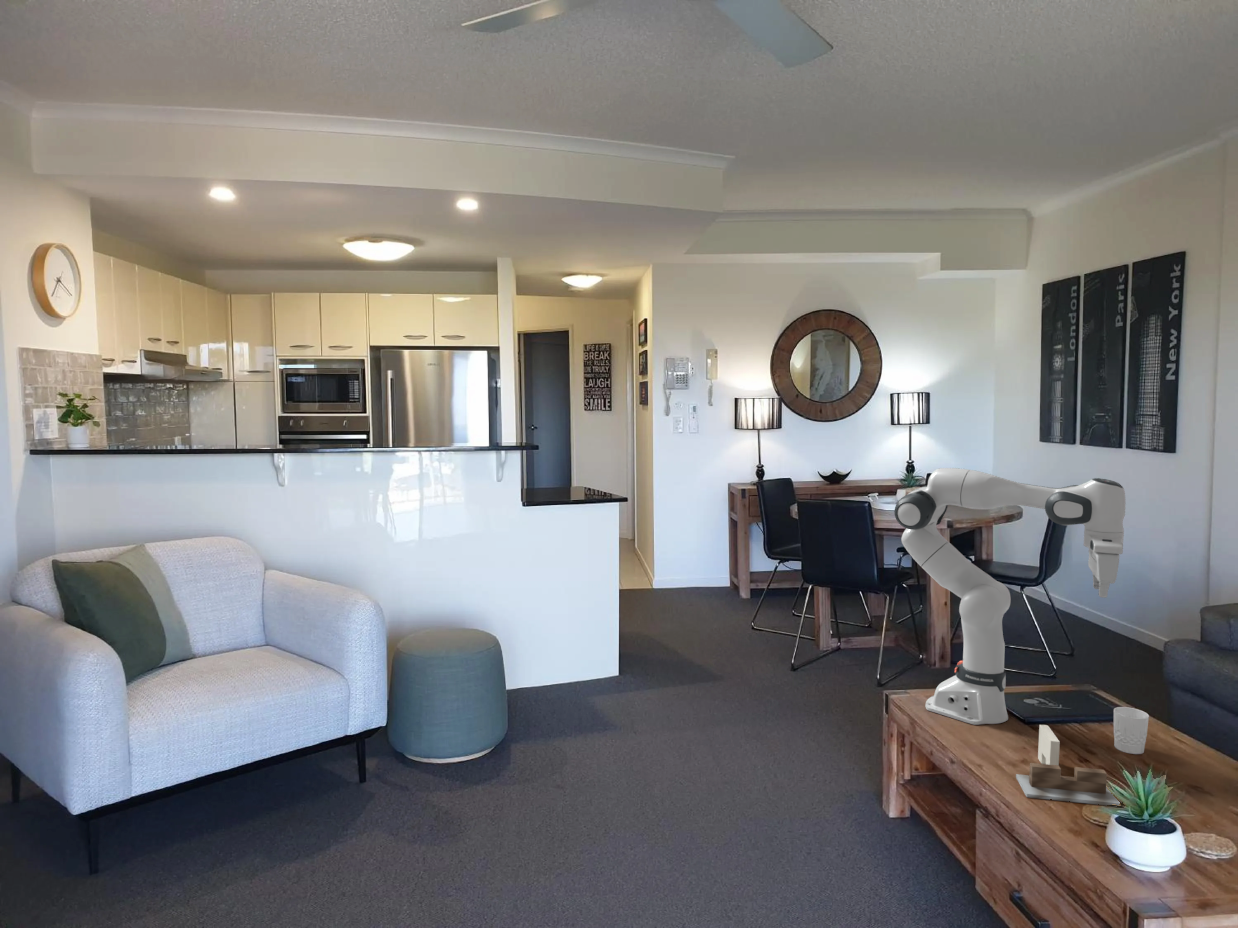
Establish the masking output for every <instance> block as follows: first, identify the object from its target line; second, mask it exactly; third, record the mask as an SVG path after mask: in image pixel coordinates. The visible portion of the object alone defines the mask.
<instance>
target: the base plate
mask: <svg viewBox="0 0 1238 928" xmlns="http://www.w3.org/2000/svg"><path fill="white" fill-rule="evenodd" d="M1073 775H1074V776H1068V775H1062V768H1061V767H1060V765H1048V764H1041V763H1036V762H1030V763H1029V774H1018V773H1016V774H1015V778H1016V781H1017V782H1018V784H1019V785H1020V788H1021V790H1022V791H1023V794H1024V795H1025V797H1026V798H1030V799H1031V798H1032V799H1040V800H1041V799H1042V800H1050V799H1052V801H1061V802H1069V801H1070V803H1080V804H1089V805H1090V804H1091V805H1098V804H1099V806H1100V805H1101V806H1107V805H1112V804H1116V805H1119V804H1120V802H1121V801H1120V800H1119V801H1120V802H1119V801H1118V800H1117V799H1116V798H1115V797H1114V796H1113V794H1111V792H1110V791H1109V790H1108V789H1107V787H1106V784H1107V777H1108V773H1107V772H1106V771H1105V770H1104V769H1099V768H1090V767H1089V768H1088V767H1079V766H1074V774H1073Z"/></svg>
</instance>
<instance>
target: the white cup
mask: <svg viewBox="0 0 1238 928" xmlns="http://www.w3.org/2000/svg"><path fill="white" fill-rule="evenodd" d="M1149 718H1150V715H1149V714H1148V713H1147V712H1145V711H1143V710H1141V709H1138V708H1133V707H1128V706H1127V707H1126V706H1117V707H1114V708H1113V736H1114V738H1113V739H1114V740H1113V741H1114V742H1113V744H1114V745H1113V746H1114V748H1115V749H1116V750H1118V751H1119V752H1122V753H1127V754H1133V755H1142V754H1144V753H1145V746H1146V742H1147V736H1148V727H1149V726H1148V725H1149Z"/></svg>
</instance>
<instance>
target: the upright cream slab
mask: <svg viewBox="0 0 1238 928" xmlns="http://www.w3.org/2000/svg"><path fill="white" fill-rule="evenodd" d="M1038 728H1039V729H1038V744H1037V745H1038V748H1037V751H1038V752H1037V759H1038V760H1039V762H1040V764H1048V765H1059V763H1060V746H1061V745H1060V744H1061V743H1060V742H1061V741H1060V740H1059V739H1058V737H1057V736H1056V734H1055V733H1054V732H1053V730H1052V729H1051V728H1050V726H1049V725H1047V724H1039V727H1038ZM1059 766H1060V765H1059Z"/></svg>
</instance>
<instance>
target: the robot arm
mask: <svg viewBox="0 0 1238 928" xmlns="http://www.w3.org/2000/svg"><path fill="white" fill-rule="evenodd" d="M894 506H895V507H894V512H893V513H894V517H895V519H896V522H897V523H898V524H899V525H900V526H902V527H903V528H905V529H904V531H903V533H902V535H901V538H900V539H901V544H902V545H903V547H904V549H905V550H906V551H907V553H908V554H909V555H910V556H911V557H912V559H913V560H914V561H915V562H916V564H918V565H919V566H920V567H921V568H922V569H923V570H924V571H925V572H926V574H928V575H929V576H930V577H931V578H932V579H933V580H934V581H935V582H936V583H937V584H938V585H939V587H942V588H944V589H946V590H948V591H949V592H951V593H953V594H954V595H955V596H957V597H959V599H961V600H960V602H959V607H958V608H959V609H958V612H959V615H960V618H961V619H960V622H961V629H962V636H963V646H962V647H963V651H962V660H959V661H958V662H957V664H956V665H955V668H954V674H955V675H953V676H951V677H949V678H947V679H945V680H944V681H942V682H940V683H939V684H938V685H937V687H936V688H935V691H934V693H933V694H934V695H931V696H930V697H928V699H927V700H926V701H925V709H926V710H927V711H929V712H933V713H936V714H939V715H941V716H945V717H948V718H950V719H951V718H952V719H955V720H957V721H960V722H964V723H966V724H971V725H975V726H977V725H985V724H989V725H995V724H1001V723H1004V722H1006V721H1008V720H1009V715H1008V712H1007V706H1006V701H1005V700H1006V699H1005V689H1006V684H1007V683H1006V682H1007V680H1006V678H1007V676H1006V669H1005V655H1006V654H1005V651H1006V650H1005V649H1006V648H1005V647H1006V643H1005V641H1004V640H1005V639H1004V635H1003V634H1004V633H1003V619H1004V618H1003V617H1004V616H1005V613H1007V611H1008V610H1009V609H1010V606H1011V601H1012V600H1011V592H1010V589H1008V587H1007V586H1006V585H1005V584H1004V583H1002V582H1000V581H997V580H996V579H995V578H993V577H992V576H991V575H990V574H988V573H987V572H985V571H983V570H982V568H979V567H978V566H977V565H975V564H974V563H972V561H970V560H969V559H968V558H966V557H965V556H964V555H963V553H961V552H960V551H959V550H958V549H957V548H956V547H955V546H954V545H953V544H952V543H950V542H949V540H947V539H946V538H945V536H943V535H942V534H941V533H940V532H939V530H938V528H937V525H940V524H941V522H942V520H943V517H945V514H946V512H947V510H948V507H949V506H957V507H960V508H961V507H962V508H965V509H966V508H967V509H971V510H993V509H1000V508H1003V507H1009V506H1021V507H1022V506H1024V507H1029V508H1035V509H1042V510H1044V511H1045V514H1046V516H1047V517H1048V518H1049V520H1051V521H1052V522H1054V523H1055V524H1057V525H1061V526H1073V525H1084V531H1083V546H1084V547H1086V548H1088V561H1087V562H1088V563H1087V565H1088V568H1089V569H1090V571H1091V572H1092V580H1093V582H1092V588H1093V589H1094V590H1098V596H1099V597H1100V598H1104V599H1105V598H1108V592H1109V588H1110V584H1115V582H1116V580H1117V577H1118V573H1119V563H1120V555H1123V552H1124V551H1123V549H1124V536H1125V535H1124V534H1125V529H1124V525H1123V522H1124V518H1125V516H1126V492H1125V489H1124V487H1123V485H1121V484H1120V483H1119V482H1117V481H1114V480H1111V479H1106V478H1099V477H1098V478H1097V477H1094V478H1091V479H1090V480H1089V481H1088V480H1087V481H1086V482H1084V483H1081V484H1075V485H1074V484H1073V485H1068V486H1064V487H1063V486H1062V487H1048V486H1042V485H1035V484H1028V483H1022V482H1016V481H1014V480H1010V479H1006V478H1004V477H1000V476H997V475H993V474H991V473H987V472H983V471H979V470H973V469H967V468H958V467H957V468H956V467H955V468H954V467H940V468H937V469H934V470H933V472H932V473H931V474H930V476H929V477H928V480H927V485H923V486H921V487H917V488H916V489H913V490H911V491H909V492H908V494H906V495H904V496H902V497H901V498H899V500H898V501H897V502H896V505H894Z"/></svg>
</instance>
